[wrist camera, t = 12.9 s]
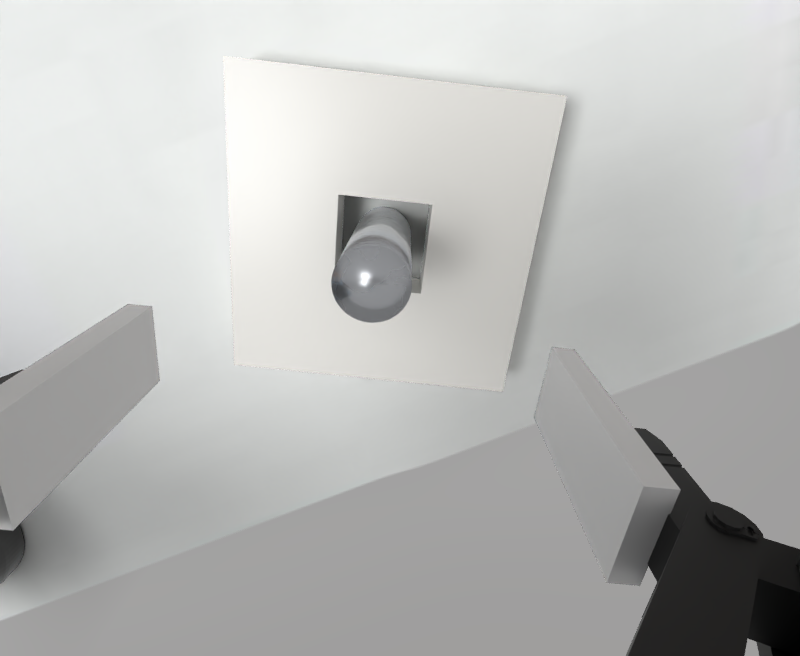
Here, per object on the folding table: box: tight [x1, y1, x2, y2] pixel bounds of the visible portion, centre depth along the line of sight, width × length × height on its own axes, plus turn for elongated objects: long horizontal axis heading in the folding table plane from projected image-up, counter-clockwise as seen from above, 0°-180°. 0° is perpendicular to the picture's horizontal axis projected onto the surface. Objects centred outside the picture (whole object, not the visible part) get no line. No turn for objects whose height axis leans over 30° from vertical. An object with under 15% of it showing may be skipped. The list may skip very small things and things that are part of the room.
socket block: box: [223, 56, 567, 392], centre depth 33 cm, size 20×20×4 cm
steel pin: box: [331, 207, 412, 323], centre depth 29 cm, size 4×4×12 cm
